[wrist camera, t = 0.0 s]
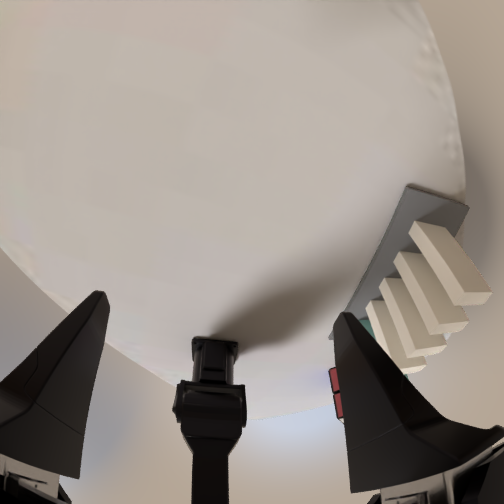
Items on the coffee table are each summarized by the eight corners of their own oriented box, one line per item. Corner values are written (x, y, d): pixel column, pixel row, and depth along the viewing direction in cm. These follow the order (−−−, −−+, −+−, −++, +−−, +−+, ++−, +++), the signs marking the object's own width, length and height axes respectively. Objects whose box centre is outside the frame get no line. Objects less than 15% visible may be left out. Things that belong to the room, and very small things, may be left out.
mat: (384, 335, 39) (385, 337, 38) (328, 336, 38) (329, 339, 37) (467, 205, 24) (469, 207, 23) (405, 186, 23) (408, 188, 22)
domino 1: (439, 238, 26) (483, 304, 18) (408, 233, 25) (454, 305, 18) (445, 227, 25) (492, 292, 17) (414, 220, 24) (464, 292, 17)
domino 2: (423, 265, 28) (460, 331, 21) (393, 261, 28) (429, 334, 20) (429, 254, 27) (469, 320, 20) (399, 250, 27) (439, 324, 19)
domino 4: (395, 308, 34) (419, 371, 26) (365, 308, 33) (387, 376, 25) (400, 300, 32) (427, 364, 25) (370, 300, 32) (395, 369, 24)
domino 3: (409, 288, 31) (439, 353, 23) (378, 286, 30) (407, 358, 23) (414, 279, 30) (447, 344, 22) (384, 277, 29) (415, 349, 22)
